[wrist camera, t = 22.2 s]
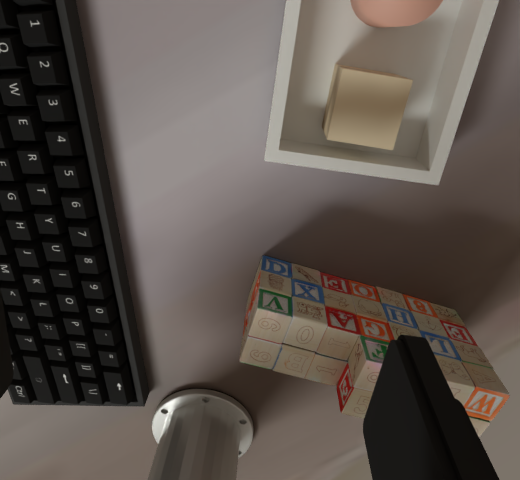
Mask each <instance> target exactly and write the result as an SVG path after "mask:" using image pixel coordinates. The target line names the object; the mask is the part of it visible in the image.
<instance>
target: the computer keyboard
mask: <svg viewBox="0 0 520 480" xmlns="http://www.w3.org/2000/svg"><path fill="white" fill-rule="evenodd" d="M0 290H1V295H2V301H3V307H4V314H5V320H6V326H7V333H8V339H9V345H10V352H11V358H12V364H13V372H14V374H13V379H12V382H11V384H10V386H9V388H8V391H9V394H10V397H11V399H12V402H13V404H20V405H86V406H145V403H146V400H147V398H148V395H149V389H148V384H147V379H146V373H145V368H144V363H143V357H142V352H141V347H140V341H139V336H138V331H137V325H136V320H135V315H134V309H133V304H132V299H131V293H130V288H129V283H128V277H127V272H126V267H125V261H124V256H123V251H122V245H121V240H120V235H119V229H118V224H117V219H116V213H115V208H114V203H113V197H112V192H111V187H110V181H109V176H108V171H107V165H106V160H105V155H104V149H103V144H102V139H101V133H100V128H99V123H98V117H97V112H96V107H95V101H94V96H93V91H92V85H91V80H90V75H89V69H88V64H87V59H86V53H85V48H84V43H83V37H82V32H81V27H80V21H79V16H78V11H77V5H76V0H0Z"/></svg>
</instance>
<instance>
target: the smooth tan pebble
mask: <svg viewBox="0 0 520 480" xmlns="http://www.w3.org/2000/svg"><path fill="white" fill-rule="evenodd" d="M442 1H443V0H350V2H351V6H352V9H353V11H354V13H355V14H356V16H357V17H358V18H359V19H360V20H361V21H362V22H363V23H365V24H367V25H369V26H372V27H377V28H383V27H401V26H410V25H414V24H417V23H419V22H421V21H423V20H425V19H426V18H428V17H429V16H430V15H432V14H433V13H434V12H435V11H436V10H437V8H438V7H439V6H440V4H441V3H442Z"/></svg>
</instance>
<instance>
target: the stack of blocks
mask: <svg viewBox="0 0 520 480" xmlns="http://www.w3.org/2000/svg"><path fill="white" fill-rule="evenodd" d="M400 335H409V336H417V337H424V338H426V339H427V341H428V342H429V345H430V347H431V349H432V351H433V353H434V355H435V357H436V359H437V362H438V364H439V366H440V368H441V370H442V372H443V374H444V376H445V379H446V381H447V383H448V385H449V387H450V389H451V391H452V393H453V396H454V398H455V399H457V400H459V401H460V402H461V403H462V405H463V406H464V408H465V410H466V412H467V414H468V416H469V418H470V420H471V422H472V424H473V426H474V428H475V430H476V433H477V435H478V437H480V436H481V434H482V433H483V432H484V431H485V429H486V428H487V427H488V426H489V425H490V422H489V421H491V420H493V418H495V416H496V415H497V413H498V412H499V410H500V409H501V408H502V406H503V405H504V404H505V402H506V401H507V399H508V398H509V396H510V394H509V392H508V391H507V389H506V388H505V386H504V385H503V383H502V382H501V380H500V379H499V377H498V376H497V374H496V373H495V372H494V370H493V367H492V366H491V364H490V363H489V361H488V359H487V358H486V357H485V355H484V353H483V352H482V350H481V349H480V348H479V347H478V346H477V344H476V342H475V341H474V339H473V338H472V336H471V335H470V333H469V332H468V330H467V329H466V328H465V324H464V323H463V321H462V320H461V318H460V317H459V315H458V314H457V312H456V311H455V310H454V309H450V308H447V307H443V306H440V305H437V304H433V303H430V302H428V301H426V300H422V299H419V298H415V297H412V296H408V295H405V294H401V293H398V292H395V291H391V290H388V289H384V288H381V287H377V286H376V287H373V286H370V285H366V284H363V283H359V282H356V281H352V280H346V279H343V278H340V277H337V276H333V275H329V274H326V273H322V272H319V271H318V270H315V269H311V268H308V267H304V266H301V265H297V264H293V263H289V262H286V261H282V260H279V259H275V258H272V257H268V256H264V255H263V256H262V258H261V261H260V264H259V267H258V270H257V273H256V276H255V280H254V282H253V284H252V287H251V290H250V293H249V297H248V300H247V306H246V317H245V320H244V330H243V338H242V344H241V352H240V360H239V361H240V362H241V363H246V364H250V365H254V366H258V367H262V368H266V369H272V370H273V371H276V372H280V373H284V374H287V375H292V376H296V377H299V378H305V379H307V380H311V381H315V382H319V383H324V384H328V385H337V394H338V399H339V405H340V411H341V413H343V414H346V415H350V416H355V417H359V418H363V419H364V418H365V415H366V412H367V409H368V406H369V403H370V400H371V396H372V393H373V390H374V387H375V384H376V381H377V378H378V375H379V372H380V369H381V366H382V363H383V360H384V357H385V354H386V351H387V348H388V345H389V343H390V341H391V340H392V339H394V340H397V339H398V337H399V336H400Z"/></svg>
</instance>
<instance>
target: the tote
mask: <svg viewBox="0 0 520 480" xmlns="http://www.w3.org/2000/svg"><path fill="white" fill-rule="evenodd" d="M498 2H499V0H443V1H442V3H441V4H440V6H439V7H438V8H437V10H436V11H435V12H434V13H433V14H432V15H430V16H429V17H428V18H426V19H425V20H423V21H421V22H419V23H417V24H414V25H410V26H401V27H383V28H377V27H372V26H369V25H367V24H365V23H363V22H362V21H361V20H360V19H359V18H358V17H357V16H356V14H355V13H354V11H353V9H352V6H351V2H350V0H286V6H285V13H284V21H283V28H282V35H281V42H280V50H279V57H278V64H277V71H276V79H275V86H274V93H273V100H272V108H271V115H270V122H269V129H268V137H267V144H266V151H265V158H264V161H269V162H276V163H283V164H290V165H297V166H305V167H312V168H319V169H326V170H333V171H340V172H347V173H354V174H361V175H368V176H375V177H382V178H389V179H397V180H404V181H411V182H418V183H425V184H432V185H439V182H440V179H441V176H442V173H443V170H444V167H445V164H446V161H447V158H448V155H449V152H450V149H451V146H452V143H453V140H454V137H455V134H456V131H457V127H458V124H459V121H460V118H461V115H462V112H463V109H464V106H465V103H466V100H467V97H468V94H469V91H470V88H471V85H472V82H473V79H474V76H475V73H476V69H477V66H478V63H479V60H480V57H481V54H482V51H483V48H484V45H485V42H486V39H487V36H488V33H489V30H490V27H491V24H492V21H493V18H494V15H495V12H496V8H497V5H498ZM335 64H339V65H345V66H351V67H357V68H363V69H369V70H375V71H381V72H387V73H393V74H397V75H400V76H403V77H406V78H408V79H411V80H413V83H412V86H411V89H410V93H409V96H408V100H407V103H406V107H405V110H404V114H403V117H402V121H401V124H400V127H399V131H398V134H397V138H396V141H395V145H394V148H393V150H388V149H381V148H375V147H369V146H363V145H357V144H351V143H345V142H338V141H332V140H327V138H326V136H325V133H324V131H323V129H322V122H323V118H324V113H325V108H326V104H327V99H328V94H329V89H330V85H331V80H332V75H333V70H334V66H335Z"/></svg>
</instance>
